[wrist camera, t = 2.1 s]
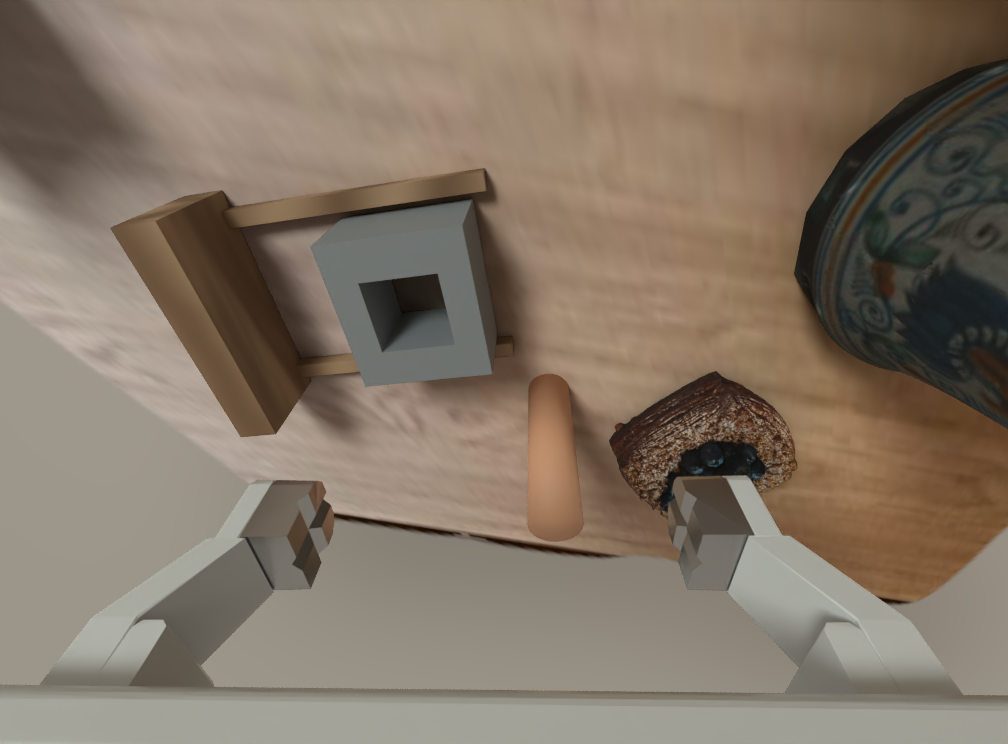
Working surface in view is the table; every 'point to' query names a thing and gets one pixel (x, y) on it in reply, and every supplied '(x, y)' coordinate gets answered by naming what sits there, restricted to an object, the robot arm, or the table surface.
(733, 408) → the pastry
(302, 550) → the robot arm
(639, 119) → the table surface
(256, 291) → the rail frame
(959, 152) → the beer stein
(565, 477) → the dowel
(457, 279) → the block
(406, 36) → the table surface
